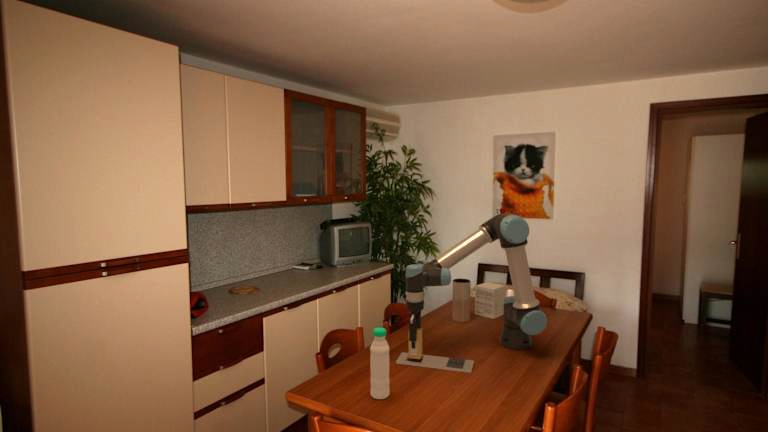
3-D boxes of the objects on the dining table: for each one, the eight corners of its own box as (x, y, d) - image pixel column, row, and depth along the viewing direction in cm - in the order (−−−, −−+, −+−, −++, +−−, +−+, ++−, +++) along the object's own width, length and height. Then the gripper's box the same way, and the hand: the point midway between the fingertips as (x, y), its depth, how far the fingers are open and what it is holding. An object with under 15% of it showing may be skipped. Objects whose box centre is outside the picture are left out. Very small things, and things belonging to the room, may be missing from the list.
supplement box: (486, 309, 268) (486, 281, 267) (505, 314, 259) (506, 285, 257) (474, 314, 259) (474, 285, 257) (493, 319, 249) (494, 289, 248)
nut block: (422, 354, 193) (422, 328, 192) (419, 359, 188) (419, 332, 187) (411, 353, 195) (411, 327, 194) (408, 358, 190) (408, 331, 189)
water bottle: (369, 391, 164) (369, 326, 162) (388, 390, 164) (388, 325, 163) (370, 400, 157) (370, 332, 155) (390, 399, 157) (390, 332, 156)
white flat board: (473, 363, 189) (473, 360, 189) (471, 372, 179) (471, 369, 179) (402, 354, 198) (402, 352, 198) (396, 363, 189) (396, 360, 189)
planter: (473, 319, 249) (473, 280, 247) (463, 323, 242) (464, 283, 240) (458, 315, 256) (458, 277, 254) (448, 319, 249) (449, 280, 247)
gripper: (411, 294, 199) (412, 344, 201) (401, 305, 182) (401, 359, 184) (427, 295, 197) (428, 345, 199) (418, 306, 180) (419, 361, 182)
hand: (415, 352), depth 191 cm, fingers closed on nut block, 5 cm apart
